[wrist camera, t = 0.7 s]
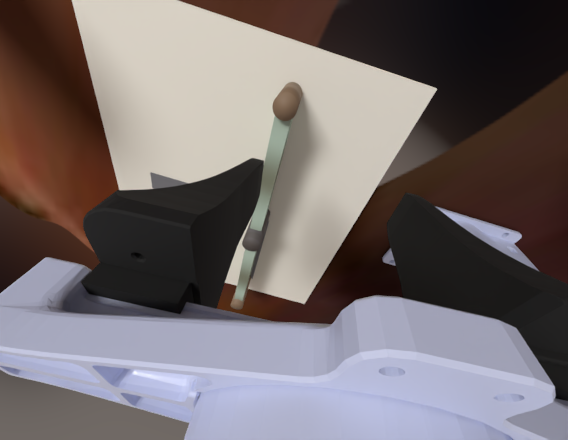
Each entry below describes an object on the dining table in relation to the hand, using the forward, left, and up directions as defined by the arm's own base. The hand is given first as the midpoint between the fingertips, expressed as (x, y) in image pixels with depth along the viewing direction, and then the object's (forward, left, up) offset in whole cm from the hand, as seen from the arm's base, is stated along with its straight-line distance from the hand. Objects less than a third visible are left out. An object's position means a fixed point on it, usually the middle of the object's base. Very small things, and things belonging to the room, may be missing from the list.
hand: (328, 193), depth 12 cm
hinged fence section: (+4, +2, -8) cm, 9 cm away
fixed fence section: (+4, +14, -8) cm, 17 cm away
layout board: (+7, +9, -8) cm, 14 cm away
